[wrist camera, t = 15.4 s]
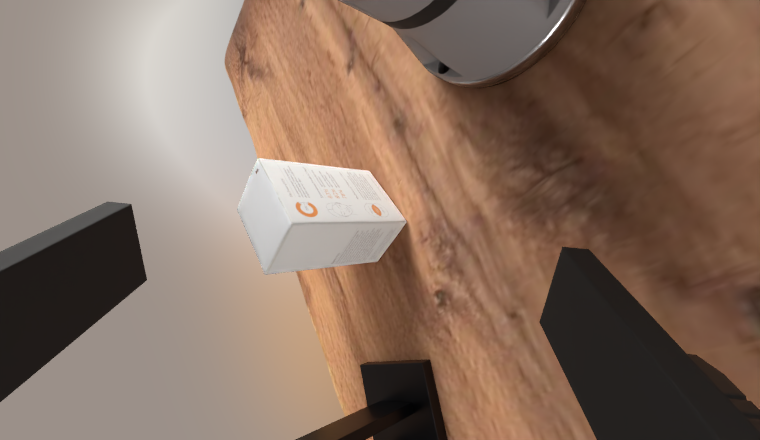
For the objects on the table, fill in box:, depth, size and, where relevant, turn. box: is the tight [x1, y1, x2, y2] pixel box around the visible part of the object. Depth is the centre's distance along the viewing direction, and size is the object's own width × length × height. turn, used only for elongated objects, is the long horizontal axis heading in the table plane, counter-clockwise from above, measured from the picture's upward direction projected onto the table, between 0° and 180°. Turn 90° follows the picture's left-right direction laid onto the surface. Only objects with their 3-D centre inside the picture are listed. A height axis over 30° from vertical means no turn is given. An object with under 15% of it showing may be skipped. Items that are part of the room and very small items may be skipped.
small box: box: [237, 158, 407, 275], centre depth 36 cm, size 8×6×13 cm
